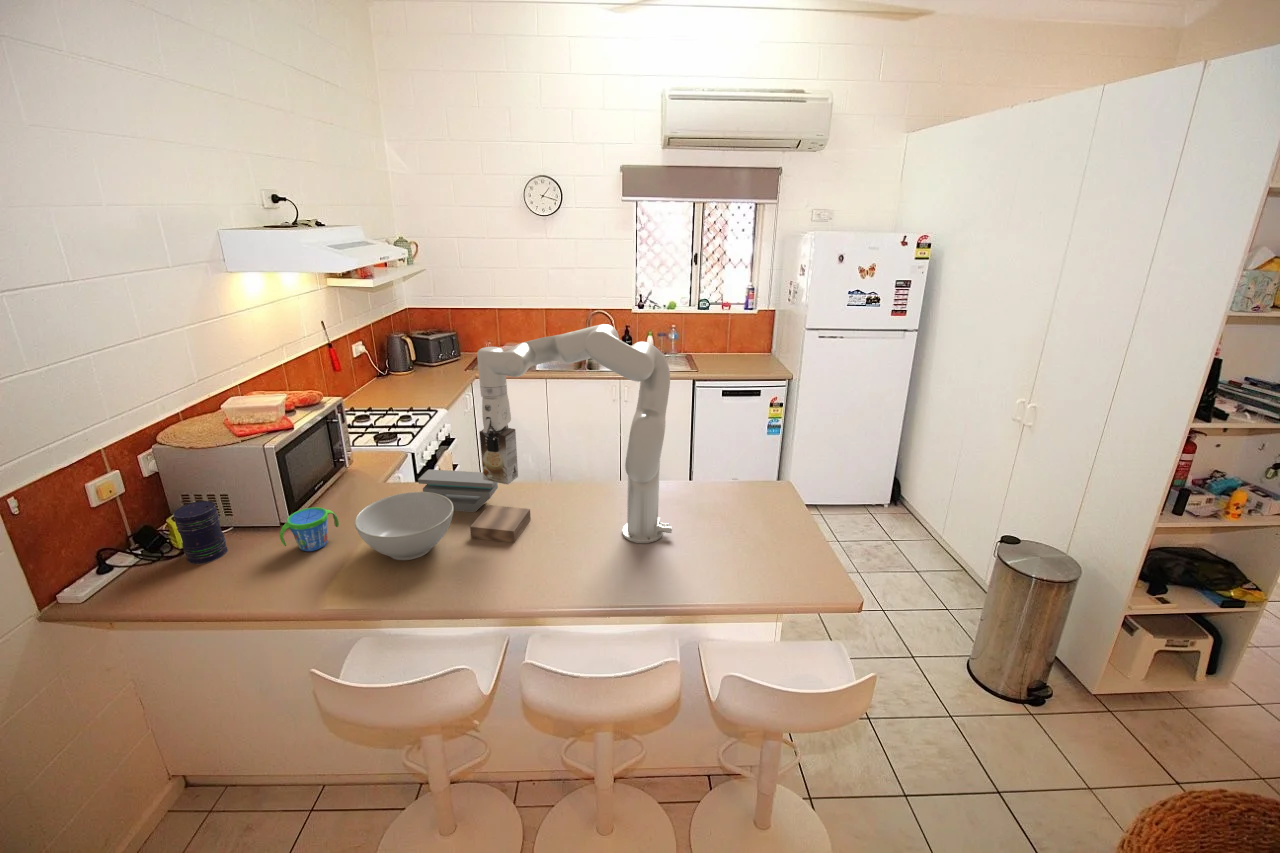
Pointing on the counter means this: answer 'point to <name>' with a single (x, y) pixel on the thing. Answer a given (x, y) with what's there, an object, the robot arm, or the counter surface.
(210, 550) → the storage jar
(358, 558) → the counter surface
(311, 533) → the snack cup
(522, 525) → the walnut riser
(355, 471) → the counter surface
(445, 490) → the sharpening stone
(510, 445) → the coffee box
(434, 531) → the decorative bowl
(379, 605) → the counter surface
